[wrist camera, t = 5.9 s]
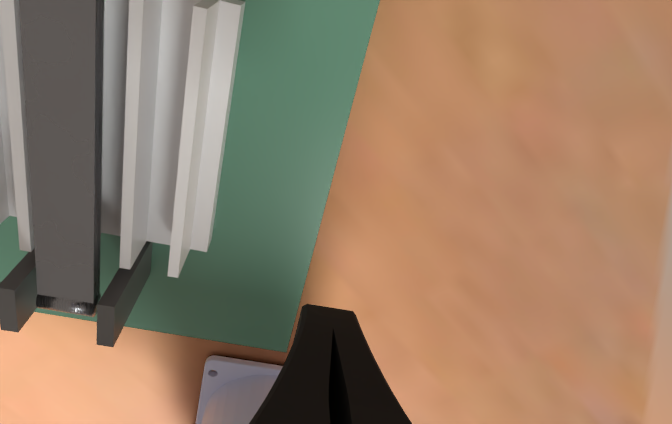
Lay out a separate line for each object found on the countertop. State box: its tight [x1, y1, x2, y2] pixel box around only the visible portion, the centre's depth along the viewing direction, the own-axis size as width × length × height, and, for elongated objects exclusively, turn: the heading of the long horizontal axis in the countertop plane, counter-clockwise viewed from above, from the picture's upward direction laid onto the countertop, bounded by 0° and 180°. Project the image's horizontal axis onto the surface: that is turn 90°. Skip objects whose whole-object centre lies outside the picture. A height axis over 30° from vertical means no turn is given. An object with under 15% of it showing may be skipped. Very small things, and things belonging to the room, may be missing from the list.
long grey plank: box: [19, 0, 104, 317], centre depth 16 cm, size 15×2×1 cm, turn 166°
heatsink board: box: [0, 0, 380, 352], centre depth 18 cm, size 20×18×6 cm
